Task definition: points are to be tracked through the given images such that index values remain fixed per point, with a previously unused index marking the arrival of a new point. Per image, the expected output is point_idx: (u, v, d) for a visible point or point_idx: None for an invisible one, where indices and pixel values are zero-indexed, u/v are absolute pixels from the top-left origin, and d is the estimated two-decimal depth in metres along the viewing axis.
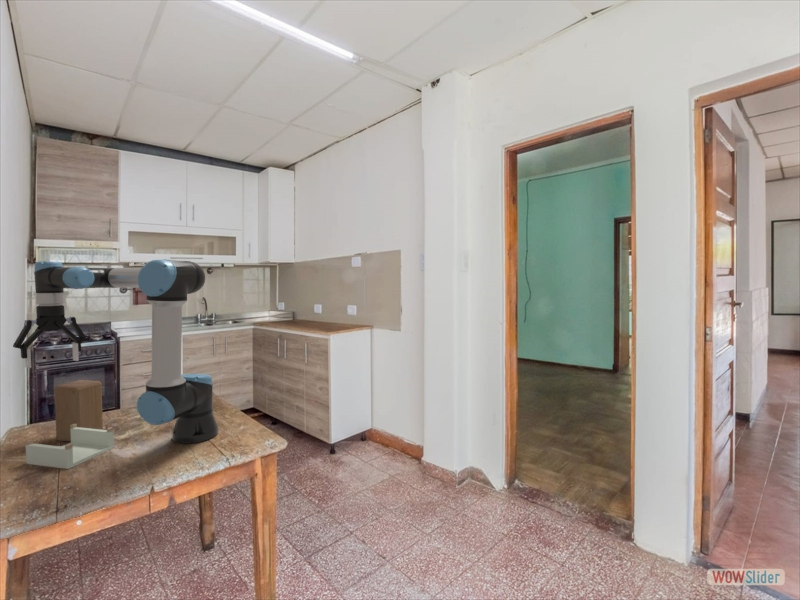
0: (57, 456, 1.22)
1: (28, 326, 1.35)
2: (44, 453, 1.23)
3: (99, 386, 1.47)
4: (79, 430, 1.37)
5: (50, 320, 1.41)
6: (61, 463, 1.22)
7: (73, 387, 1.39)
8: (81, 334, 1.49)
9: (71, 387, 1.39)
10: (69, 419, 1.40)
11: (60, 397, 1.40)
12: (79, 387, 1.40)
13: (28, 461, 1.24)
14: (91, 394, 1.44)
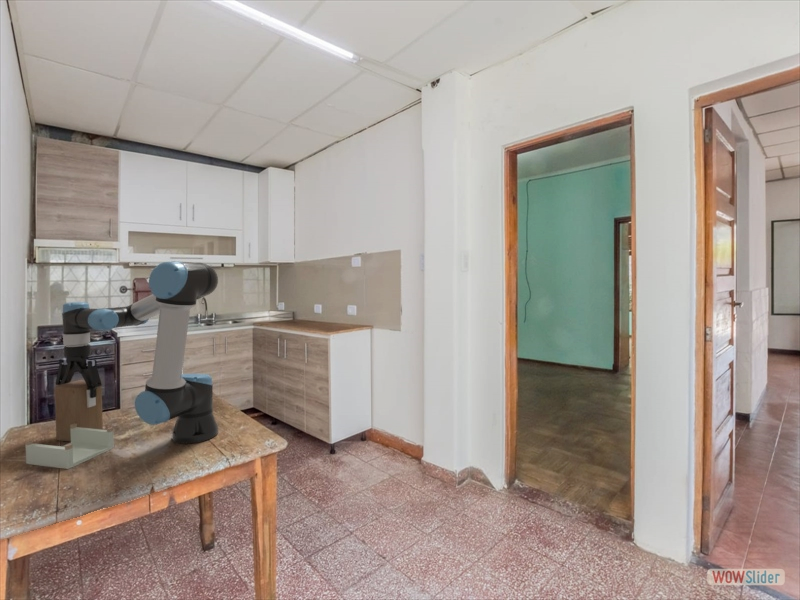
0: (57, 456, 1.22)
1: (60, 365, 1.44)
2: (44, 453, 1.23)
3: None
4: (79, 430, 1.37)
5: (73, 359, 1.43)
6: (61, 463, 1.22)
7: (73, 387, 1.39)
8: (92, 380, 1.42)
9: (71, 387, 1.39)
10: (69, 419, 1.40)
11: (60, 397, 1.40)
12: (79, 387, 1.40)
13: (28, 461, 1.24)
14: None
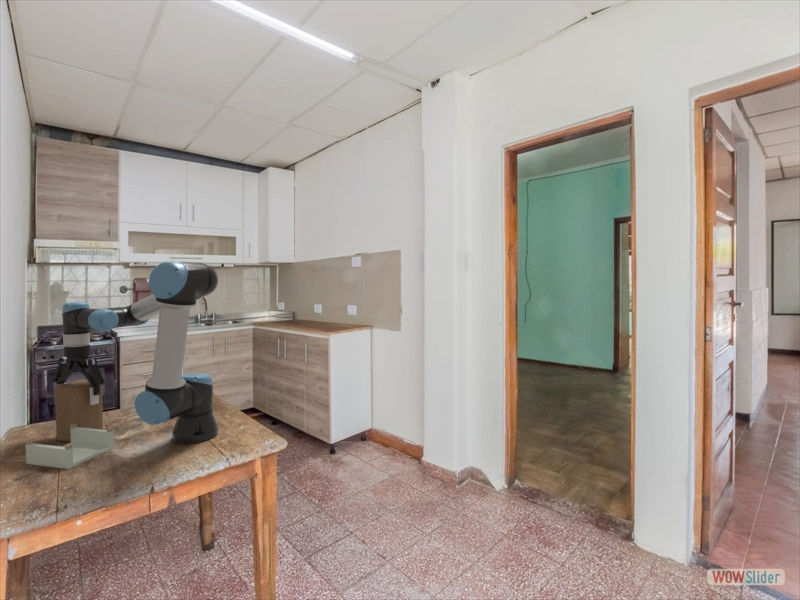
0: (57, 456, 1.22)
1: (59, 363, 1.44)
2: (44, 453, 1.23)
3: None
4: (79, 430, 1.37)
5: (73, 360, 1.43)
6: (61, 463, 1.22)
7: (73, 387, 1.39)
8: (94, 378, 1.41)
9: (71, 387, 1.39)
10: (69, 419, 1.40)
11: (60, 397, 1.40)
12: (79, 387, 1.40)
13: (28, 461, 1.24)
14: None
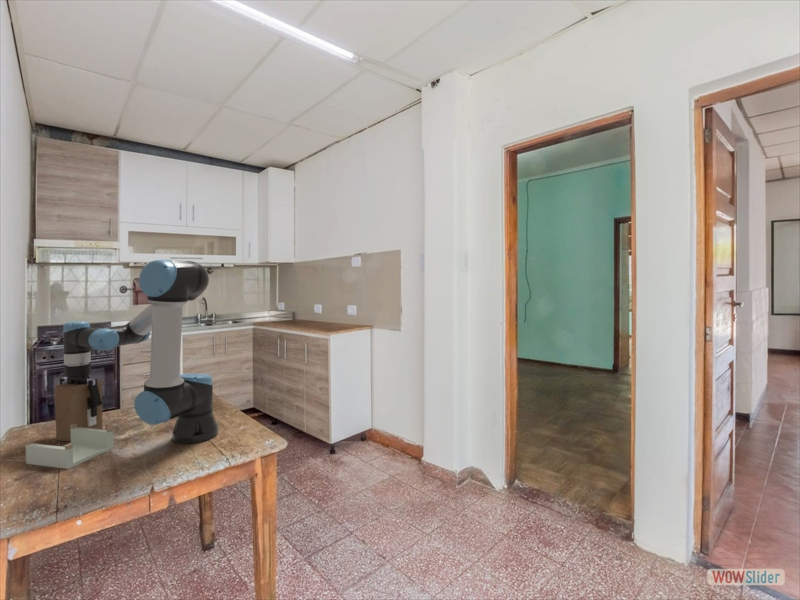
0: (57, 456, 1.22)
1: (60, 384, 1.44)
2: (44, 453, 1.23)
3: (99, 386, 1.47)
4: (79, 430, 1.37)
5: (73, 378, 1.43)
6: (61, 463, 1.22)
7: (73, 387, 1.39)
8: (92, 400, 1.42)
9: (71, 387, 1.39)
10: (69, 419, 1.40)
11: (60, 397, 1.40)
12: (79, 387, 1.40)
13: (28, 461, 1.24)
14: None
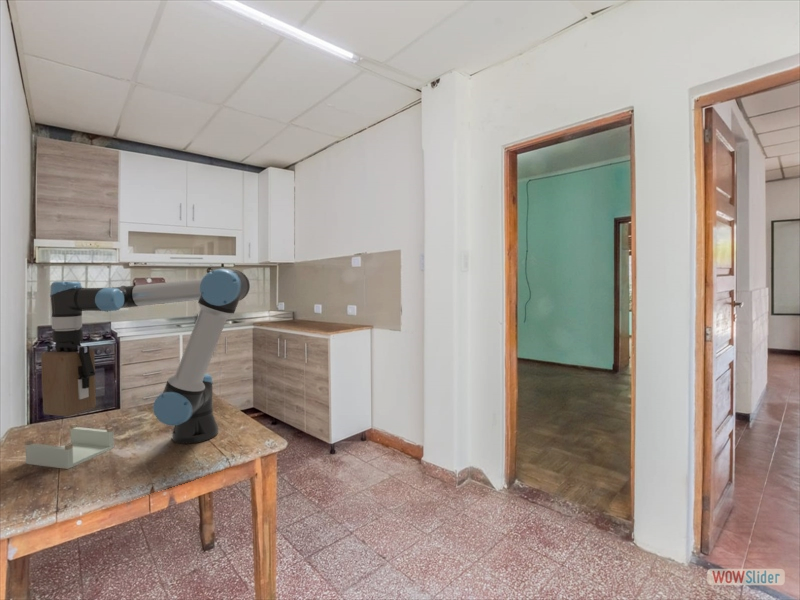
0: (57, 456, 1.22)
1: None
2: (44, 453, 1.23)
3: (91, 355, 1.31)
4: (79, 430, 1.37)
5: (63, 345, 1.27)
6: (61, 463, 1.22)
7: (62, 354, 1.24)
8: (84, 369, 1.26)
9: (59, 354, 1.24)
10: (57, 391, 1.24)
11: (47, 365, 1.24)
12: (69, 354, 1.24)
13: (28, 461, 1.24)
14: None
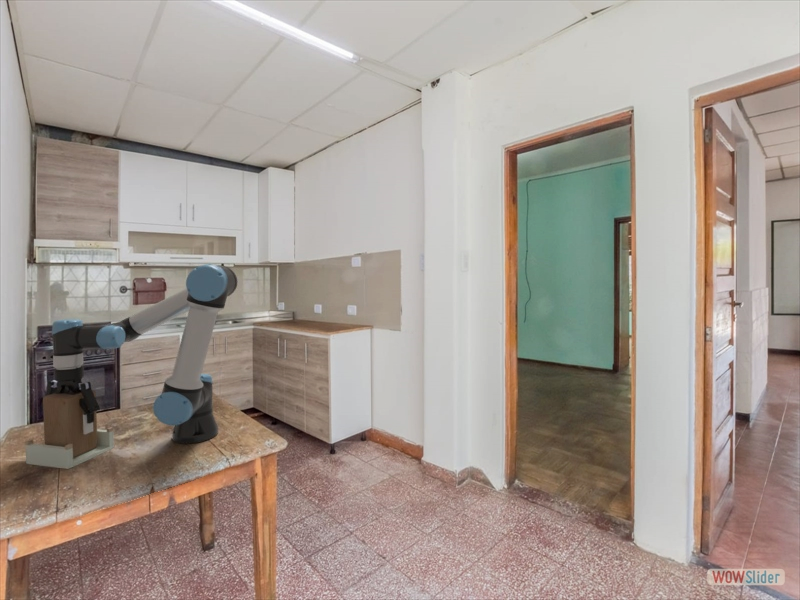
0: (57, 456, 1.22)
1: (49, 387, 1.29)
2: (44, 453, 1.23)
3: None
4: None
5: (64, 384, 1.28)
6: (61, 463, 1.22)
7: (64, 397, 1.24)
8: (88, 404, 1.27)
9: (61, 397, 1.24)
10: (59, 434, 1.25)
11: (49, 408, 1.25)
12: (70, 397, 1.25)
13: (28, 461, 1.24)
14: None
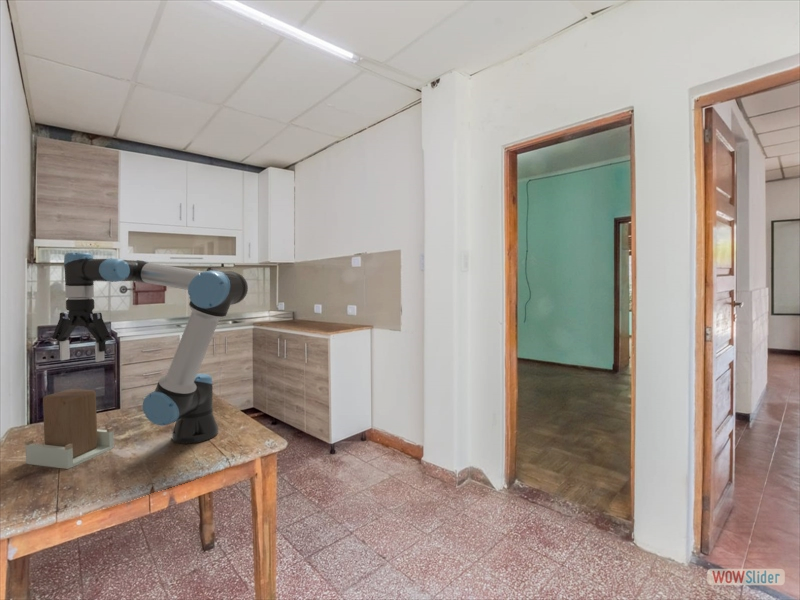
0: (57, 456, 1.22)
1: (60, 318, 1.34)
2: (44, 453, 1.23)
3: (93, 396, 1.32)
4: None
5: (76, 314, 1.34)
6: (61, 463, 1.22)
7: (64, 397, 1.24)
8: (100, 333, 1.33)
9: (61, 397, 1.24)
10: (59, 434, 1.25)
11: (49, 408, 1.25)
12: (70, 397, 1.25)
13: (28, 461, 1.24)
14: (84, 405, 1.29)
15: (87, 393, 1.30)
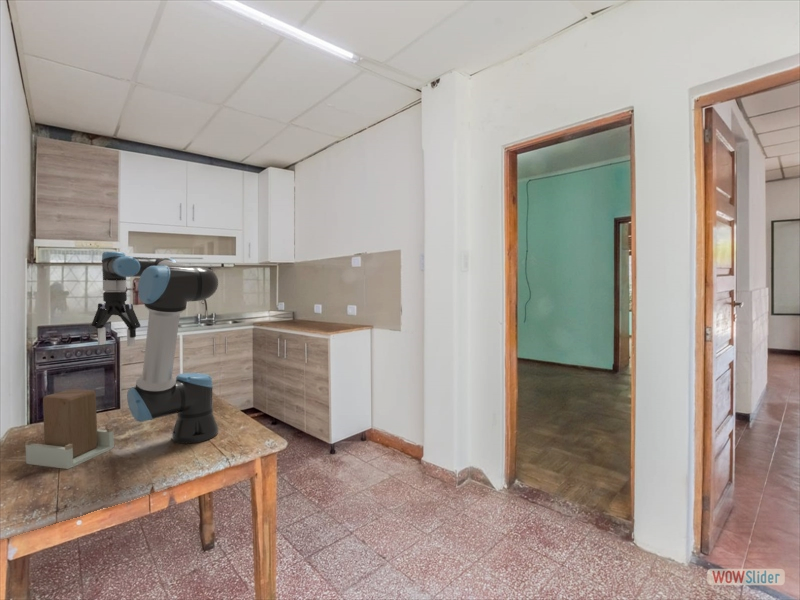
0: (57, 456, 1.22)
1: (98, 308, 1.56)
2: (44, 453, 1.23)
3: (93, 396, 1.32)
4: None
5: (111, 305, 1.55)
6: (61, 463, 1.22)
7: (64, 397, 1.24)
8: (131, 321, 1.54)
9: (61, 397, 1.24)
10: (59, 434, 1.25)
11: (49, 408, 1.25)
12: (70, 397, 1.25)
13: (28, 461, 1.24)
14: (84, 405, 1.29)
15: (87, 393, 1.30)
